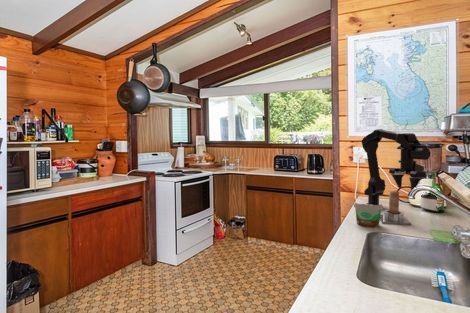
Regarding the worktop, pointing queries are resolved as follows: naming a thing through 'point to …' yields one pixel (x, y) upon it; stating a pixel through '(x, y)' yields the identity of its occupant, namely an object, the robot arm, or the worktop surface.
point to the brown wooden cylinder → (394, 202)
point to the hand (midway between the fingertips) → (406, 189)
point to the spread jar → (428, 202)
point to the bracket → (394, 218)
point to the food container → (368, 214)
